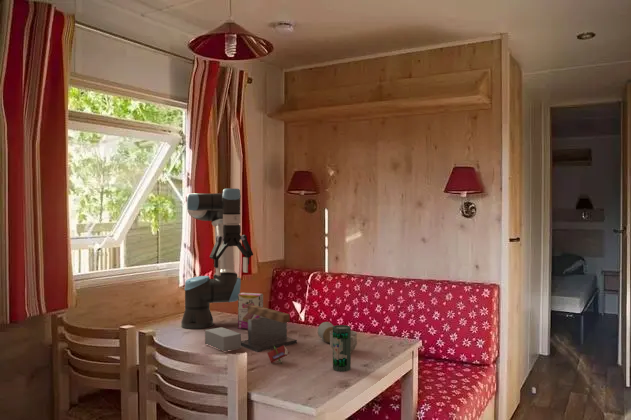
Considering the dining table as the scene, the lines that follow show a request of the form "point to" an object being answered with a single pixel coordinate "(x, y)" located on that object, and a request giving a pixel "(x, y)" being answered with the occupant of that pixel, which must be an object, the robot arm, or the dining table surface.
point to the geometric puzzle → (277, 353)
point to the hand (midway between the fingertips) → (232, 273)
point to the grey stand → (223, 339)
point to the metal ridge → (266, 335)
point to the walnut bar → (269, 313)
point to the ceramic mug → (325, 331)
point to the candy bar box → (243, 303)
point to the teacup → (353, 339)
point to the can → (341, 348)
